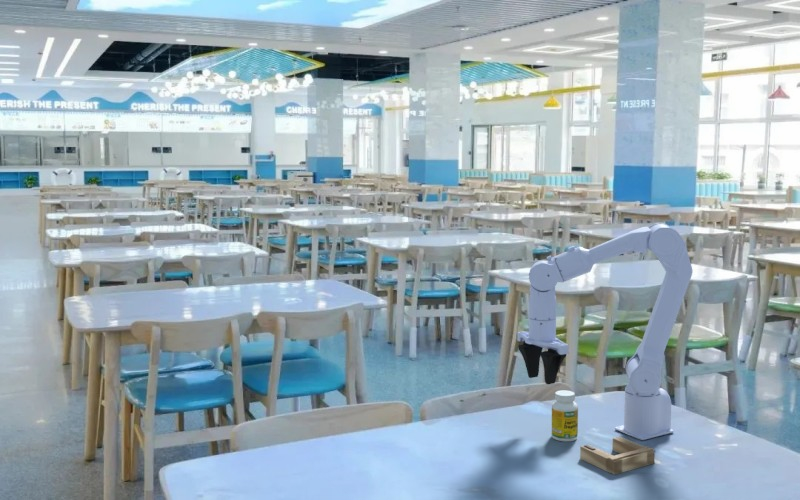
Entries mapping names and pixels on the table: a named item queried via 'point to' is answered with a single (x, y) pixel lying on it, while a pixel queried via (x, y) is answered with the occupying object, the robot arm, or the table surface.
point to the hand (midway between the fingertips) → (541, 380)
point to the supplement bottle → (564, 416)
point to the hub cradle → (619, 456)
